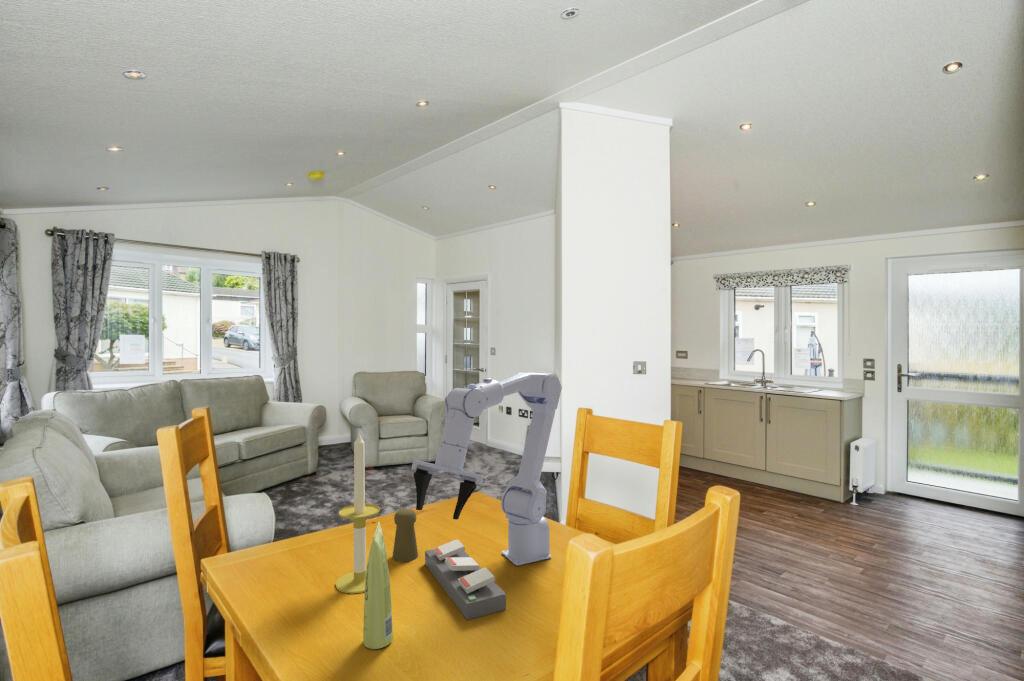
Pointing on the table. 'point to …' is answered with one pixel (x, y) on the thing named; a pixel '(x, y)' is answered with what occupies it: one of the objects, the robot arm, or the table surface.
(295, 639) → the table surface
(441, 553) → the rocker
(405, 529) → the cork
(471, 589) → the rocker
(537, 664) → the table surface
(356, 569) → the candle
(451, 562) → the rocker
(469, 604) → the strip
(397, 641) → the table surface
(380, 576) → the tube
